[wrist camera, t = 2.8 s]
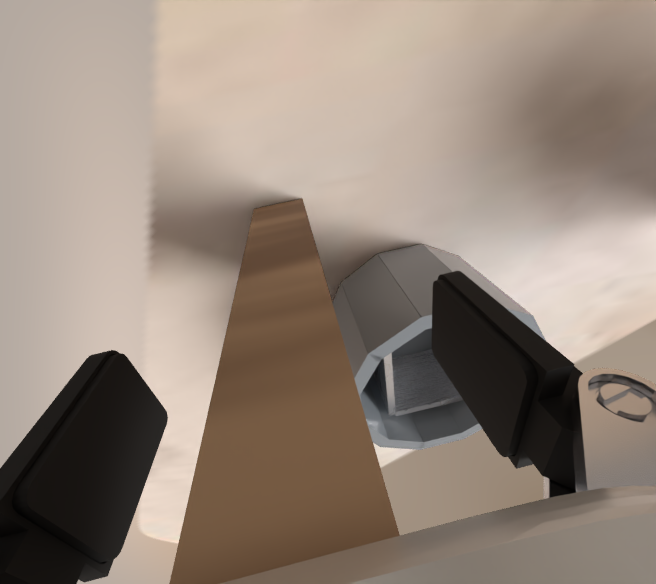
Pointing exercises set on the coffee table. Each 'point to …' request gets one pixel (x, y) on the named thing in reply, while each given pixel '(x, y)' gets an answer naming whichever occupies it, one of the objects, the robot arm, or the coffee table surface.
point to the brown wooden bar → (281, 423)
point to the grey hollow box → (413, 383)
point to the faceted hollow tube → (404, 337)
